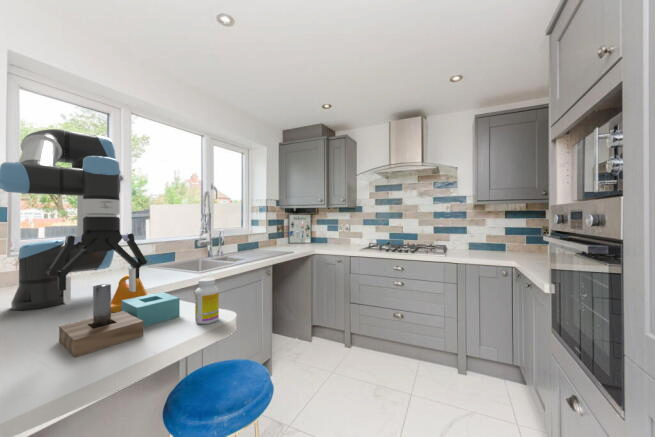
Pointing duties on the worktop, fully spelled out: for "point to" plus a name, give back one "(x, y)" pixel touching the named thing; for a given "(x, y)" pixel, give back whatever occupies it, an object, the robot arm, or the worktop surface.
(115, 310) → the bracket
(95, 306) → the steel rod
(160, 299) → the block with rectangular slot
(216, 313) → the supplement bottle
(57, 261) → the robot arm
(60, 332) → the socket block
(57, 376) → the worktop surface
